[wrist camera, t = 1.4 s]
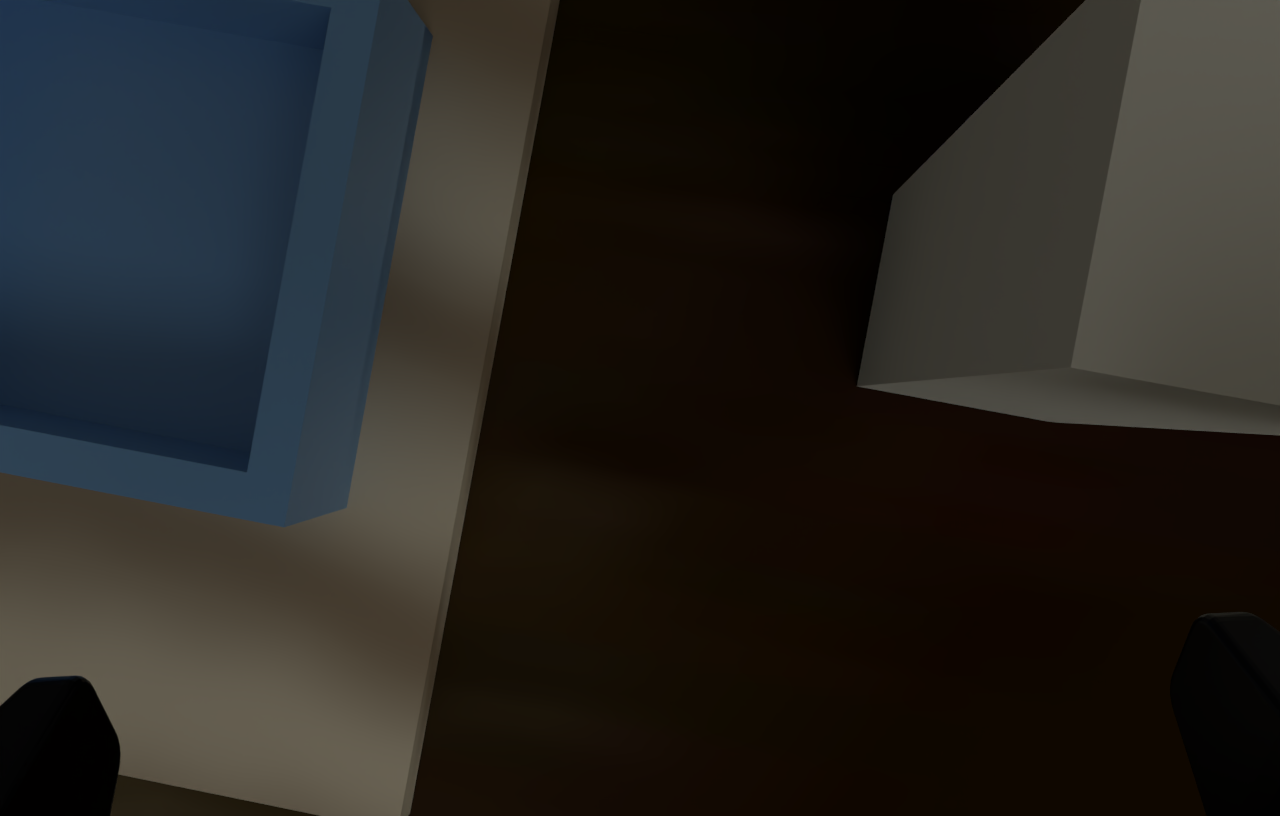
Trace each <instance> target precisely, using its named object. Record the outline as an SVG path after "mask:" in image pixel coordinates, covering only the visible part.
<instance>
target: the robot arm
mask: <svg viewBox="0 0 1280 816" xmlns="http://www.w3.org/2000/svg"><path fill="white" fill-rule="evenodd" d="M1170 696H1171V702H1172V707H1173V710H1174V714H1175V717H1176V720H1177V723H1178V726H1179V729H1180V733H1181V736H1182V739H1183V742H1184V745H1185V748H1186V752H1187V755H1188V758H1189V761H1190V764H1191V768H1192V771H1193V774H1194V777H1195V780H1196V783H1197V787H1198V790H1199V793H1200V796H1201V799H1202V802H1203V806H1204V809H1205V812H1206V815H1207V816H1280V632H1279V631H1278V630H1276V629H1275V628H1274V627H1272V626H1271V625H1269V624H1268V623H1267V622H1265V621H1264V620H1262V619H1261V618H1259V617H1257V616H1255V615H1253V614H1251V613H1247V612H1230V613H1212V614H1204V615H1201V616H1200V617H1199V618H1198V619H1196V620H1195V621H1194V623H1193V624H1192V626H1191V629H1190V631H1189V634H1188V637H1187V639H1186V642H1185V644H1184V647H1183V649H1182V652H1181V654H1180V657H1179V659H1178V662H1177V665H1176V667H1175V670H1174V672H1173V675H1172V679H1171V685H1170ZM120 757H121V752H120V743H119V739H118V736H117V733H116V731H115V729H114V727H113V725H112V723H111V721H110V719H109V717H108V715H107V713H106V711H105V709H104V707H103V705H102V703H101V701H100V699H99V697H98V695H97V693H96V691H95V689H94V687H93V685H92V684H91V682H90V681H88V680H87V679H86V678H84V677H82V676H77V675H75V676H56V677H41V678H36V679H33V680H30V681H29V682H27V683H25V684H24V685H23V686H21V687H20V688H19V689H18V690H17V691H16V692H15V693H13V694H12V695H11V696H10V697H9V698H8V699H7V700H6V701H5V702H4V703H3V704H1V705H0V816H110V814H111V809H112V803H113V798H114V793H115V788H116V783H117V778H118V773H119V767H120Z"/></svg>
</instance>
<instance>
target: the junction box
mask: <svg viewBox="0 0 1280 816" xmlns="http://www.w3.org/2000/svg"><path fill="white" fill-rule="evenodd" d="M432 38H433V35H432V34H431V33H430V31H429V30H428V28H427V27H426V25H425V24H424V23H423V21H422V20H421V18H420V17H419V15H418V14H417V13H416V11H415V10H414V8H413V7H412V5H411V4H410V3H409V1H408V0H0V472H1V473H6V474H11V475H16V476H21V477H27V478H32V479H37V480H42V481H47V482H52V483H58V484H63V485H68V486H73V487H78V488H83V489H89V490H94V491H99V492H104V493H109V494H114V495H120V496H125V497H130V498H135V499H140V500H145V501H150V502H156V503H161V504H166V505H171V506H176V507H181V508H187V509H192V510H197V511H202V512H207V513H212V514H218V515H223V516H228V517H233V518H238V519H243V520H249V521H254V522H259V523H264V524H269V525H274V526H280V527H287V526H290V525H293V524H297V523H300V522H303V521H306V520H309V519H313V518H316V517H319V516H322V515H325V514H329V513H332V512H335V511H338V510H341V509H345V508H347V503H348V498H349V492H350V487H351V481H352V476H353V470H354V465H355V459H356V454H357V448H358V443H359V437H360V432H361V426H362V421H363V415H364V410H365V404H366V399H367V393H368V388H369V383H370V377H371V372H372V366H373V361H374V355H375V350H376V344H377V339H378V333H379V328H380V322H381V317H382V311H383V306H384V300H385V295H386V289H387V284H388V279H389V273H390V268H391V262H392V257H393V251H394V246H395V240H396V235H397V229H398V224H399V218H400V213H401V207H402V202H403V196H404V191H405V185H406V180H407V175H408V169H409V164H410V158H411V153H412V147H413V142H414V136H415V131H416V125H417V120H418V114H419V109H420V103H421V98H422V92H423V87H424V81H425V76H426V70H427V65H428V60H429V54H430V49H431V43H432Z"/></svg>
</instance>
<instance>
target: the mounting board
mask: <svg viewBox="0 0 1280 816" xmlns="http://www.w3.org/2000/svg"><path fill="white" fill-rule="evenodd" d="M408 1H409V3H410V4H411V5H412V7H413V8H414V10H415V11H416V13H417V14H418V15H419V17H420V18H421V20H422V21H423V23H424V24H425V25H426V27H427V28H428V30H429V31H430V33H431V34H432V35H433V38H432V43H431V49H430V54H429V60H428V65H427V70H426V76H425V81H424V87H423V92H422V98H421V103H420V109H419V114H418V120H417V125H416V131H415V136H414V142H413V147H412V153H411V158H410V164H409V169H408V175H407V180H406V185H405V191H404V196H403V202H402V207H401V213H400V218H399V224H398V229H397V235H396V240H395V246H394V251H393V257H392V262H391V268H390V273H389V279H388V284H387V289H386V295H385V300H384V306H383V311H382V317H381V322H380V328H379V333H378V339H377V344H376V350H375V355H374V361H373V366H372V372H371V377H370V383H369V388H368V393H367V399H366V404H365V410H364V415H363V421H362V426H361V432H360V437H359V443H358V448H357V454H356V459H355V465H354V470H353V476H352V481H351V487H350V492H349V498H348V503H347V508H345V509H341V510H338V511H335V512H332V513H329V514H325V515H322V516H319V517H316V518H313V519H309V520H306V521H303V522H300V523H297V524H293V525H290V526H287V527H280V526H274V525H269V524H264V523H259V522H254V521H249V520H243V519H238V518H233V517H228V516H223V515H218V514H212V513H207V512H202V511H197V510H192V509H187V508H181V507H176V506H171V505H166V504H161V503H156V502H150V501H145V500H140V499H135V498H130V497H125V496H120V495H114V494H109V493H104V492H99V491H94V490H89V489H83V488H78V487H73V486H68V485H63V484H58V483H52V482H47V481H42V480H37V479H32V478H27V477H21V476H16V475H11V474H6V473H1V472H0V705H1V704H3V703H4V702H5V701H6V700H7V699H8V698H9V697H10V696H11V695H12V694H13V693H15V692H16V691H17V690H18V689H19V688H20V687H21V686H23V685H24V684H25V683H27V682H29V681H30V680H33V679H36V678H41V677H56V676H75V675H77V676H82V677H84V678H86V679H87V680H88V681H90V682H91V684H92V685H93V687H94V689H95V691H96V693H97V695H98V697H99V699H100V701H101V703H102V705H103V707H104V709H105V711H106V713H107V715H108V717H109V719H110V721H111V723H112V725H113V727H114V729H115V731H116V733H117V736H118V739H119V743H120V752H121V757H120V767H119V773H118V774H119V775H124V776H129V777H134V778H139V779H144V780H149V781H154V782H159V783H163V784H168V785H173V786H178V787H183V788H188V789H193V790H198V791H203V792H207V793H212V794H217V795H222V796H227V797H232V798H237V799H242V800H247V801H251V802H256V803H261V804H266V805H271V806H276V807H281V808H286V809H291V810H296V811H300V812H305V813H310V814H315V815H320V816H408V815H409V814H410V810H411V805H412V799H413V794H414V788H415V783H416V778H417V772H418V767H419V761H420V756H421V750H422V745H423V740H424V734H425V729H426V723H427V718H428V712H429V707H430V702H431V696H432V691H433V685H434V680H435V674H436V669H437V664H438V658H439V653H440V647H441V642H442V636H443V631H444V626H445V620H446V615H447V609H448V604H449V598H450V593H451V588H452V582H453V577H454V571H455V566H456V560H457V555H458V550H459V544H460V539H461V533H462V528H463V522H464V517H465V512H466V506H467V501H468V495H469V490H470V484H471V479H472V474H473V468H474V463H475V457H476V452H477V446H478V441H479V436H480V430H481V425H482V419H483V414H484V408H485V403H486V398H487V392H488V387H489V381H490V376H491V370H492V365H493V360H494V354H495V349H496V343H497V338H498V332H499V327H500V322H501V316H502V311H503V305H504V300H505V294H506V289H507V284H508V278H509V273H510V267H511V262H512V256H513V251H514V246H515V240H516V235H517V229H518V224H519V218H520V213H521V208H522V202H523V197H524V191H525V186H526V180H527V175H528V170H529V164H530V159H531V153H532V148H533V142H534V137H535V132H536V126H537V121H538V115H539V110H540V104H541V99H542V94H543V88H544V83H545V77H546V72H547V66H548V61H549V56H550V50H551V45H552V39H553V34H554V28H555V23H556V18H557V12H558V7H559V1H560V0H408Z"/></svg>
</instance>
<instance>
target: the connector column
mask: <svg viewBox="0 0 1280 816" xmlns="http://www.w3.org/2000/svg"><path fill="white" fill-rule="evenodd" d="M857 386H858V387H864V388H869V389H875V390H880V391H885V392H891V393H896V394H902V395H907V396H912V397H918V398H923V399H929V400H934V401H940V402H945V403H950V404H956V405H961V406H967V407H972V408H978V409H983V410H988V411H994V412H999V413H1005V414H1010V415H1015V416H1021V417H1026V418H1032V419H1037V420H1043V421H1048V422H1060V423H1077V424H1094V425H1111V426H1129V427H1146V428H1163V429H1180V430H1198V431H1215V432H1232V433H1250V434H1267V435H1280V0H1085V1H1084V2H1083V3H1082V4H1081V5H1080V6H1079V7H1078V8H1077V9H1076V10H1075V11H1074V12H1073V13H1072V14H1071V15H1070V16H1069V17H1068V18H1067V19H1066V21H1065V22H1064V23H1063V24H1062V25H1061V26H1060V27H1059V28H1058V29H1057V30H1056V31H1055V32H1054V33H1053V34H1052V35H1051V36H1050V37H1049V38H1048V39H1047V40H1046V41H1045V42H1044V43H1043V44H1042V45H1041V46H1040V47H1039V48H1038V49H1037V50H1036V51H1035V52H1034V53H1033V54H1032V55H1031V56H1030V57H1029V58H1028V59H1027V60H1026V61H1025V62H1024V63H1023V64H1022V65H1021V66H1020V67H1019V68H1018V69H1017V70H1016V71H1015V72H1014V73H1013V74H1012V75H1011V76H1010V77H1009V78H1008V79H1007V80H1006V81H1005V82H1004V83H1003V84H1002V85H1001V86H1000V87H999V88H998V89H997V90H996V91H995V92H994V93H993V94H992V95H991V96H990V97H989V98H988V99H987V100H986V101H985V102H984V103H983V104H982V105H981V106H980V107H979V108H978V109H977V110H976V111H975V112H974V113H973V114H972V115H971V116H970V117H969V118H968V119H967V120H966V121H965V123H964V124H963V125H962V126H961V127H960V128H959V129H958V130H957V131H956V132H955V133H954V134H953V135H952V136H951V137H950V138H949V139H948V140H947V141H946V142H945V143H944V144H943V145H942V146H941V147H940V148H939V149H938V150H937V151H936V152H935V153H934V154H933V155H932V156H931V157H930V158H929V159H928V160H927V161H926V162H925V163H924V164H923V165H922V166H921V167H920V168H919V169H918V170H917V171H916V172H915V173H914V174H913V175H912V176H911V177H910V178H909V179H908V180H907V181H906V182H905V183H904V184H903V185H902V186H901V187H900V188H899V189H898V190H897V191H896V192H895V193H894V194H893V197H892V203H891V208H890V213H889V218H888V224H887V229H886V234H885V240H884V245H883V250H882V255H881V261H880V266H879V271H878V277H877V282H876V287H875V293H874V298H873V303H872V308H871V314H870V319H869V324H868V330H867V335H866V340H865V345H864V351H863V356H862V361H861V367H860V372H859V377H858V383H857Z"/></svg>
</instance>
